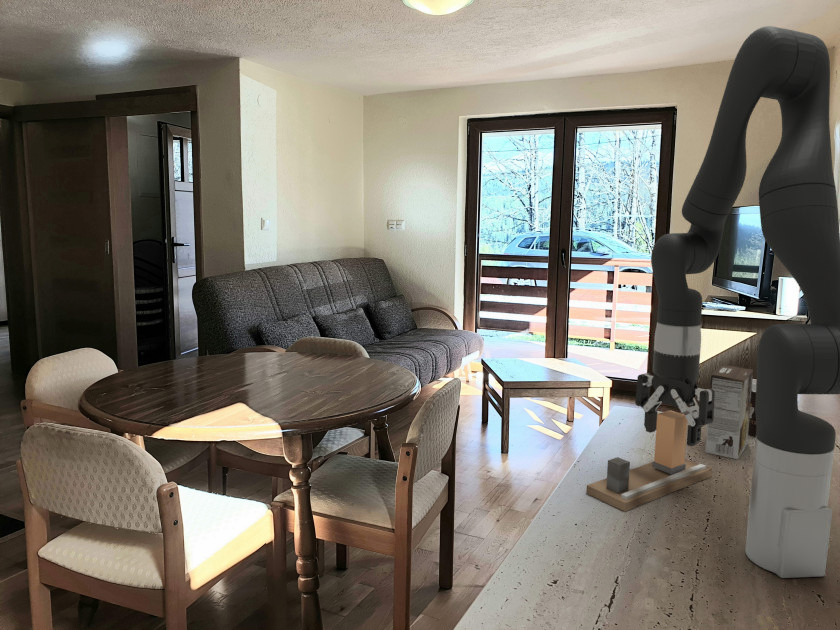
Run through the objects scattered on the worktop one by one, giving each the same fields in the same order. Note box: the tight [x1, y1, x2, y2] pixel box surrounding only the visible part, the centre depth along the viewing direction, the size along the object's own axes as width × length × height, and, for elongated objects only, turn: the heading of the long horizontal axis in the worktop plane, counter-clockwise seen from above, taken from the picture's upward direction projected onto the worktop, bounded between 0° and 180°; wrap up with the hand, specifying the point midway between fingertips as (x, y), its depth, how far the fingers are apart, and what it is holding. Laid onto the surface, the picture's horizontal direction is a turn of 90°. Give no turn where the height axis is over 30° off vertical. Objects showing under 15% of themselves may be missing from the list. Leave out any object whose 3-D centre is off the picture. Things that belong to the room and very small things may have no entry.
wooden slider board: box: [585, 456, 713, 512], centre depth 115 cm, size 24×8×6 cm, turn 124°
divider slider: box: [652, 409, 688, 474], centre depth 117 cm, size 4×4×10 cm
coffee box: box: [704, 364, 754, 460], centre depth 130 cm, size 9×6×16 cm
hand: (670, 438), depth 117 cm, fingers open, 8 cm apart
